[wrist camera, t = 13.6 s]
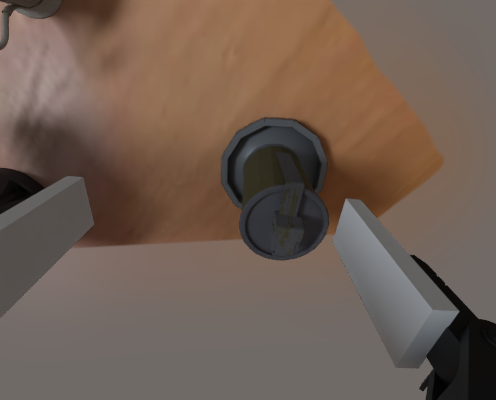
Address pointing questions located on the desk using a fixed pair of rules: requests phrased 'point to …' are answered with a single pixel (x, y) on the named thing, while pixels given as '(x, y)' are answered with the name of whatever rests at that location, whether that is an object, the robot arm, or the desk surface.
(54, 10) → the mug
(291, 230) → the canister
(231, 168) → the round tray
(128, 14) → the desk surface
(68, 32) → the desk surface
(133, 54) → the desk surface
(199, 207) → the desk surface
